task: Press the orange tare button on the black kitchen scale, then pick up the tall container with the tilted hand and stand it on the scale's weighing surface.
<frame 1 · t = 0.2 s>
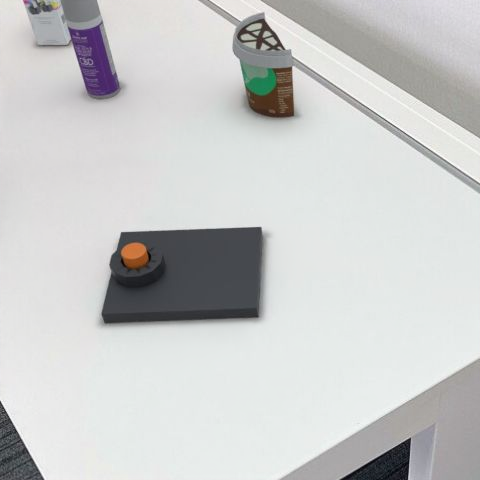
food container: (262, 104, 107), on the table
scale: (187, 277, 84), on the table
tare button: (135, 256, 81), point 3 cm above the table, slide at 0.1 cm
container: (104, 91, 110), on the table
ink box: (60, 34, 122), on the table
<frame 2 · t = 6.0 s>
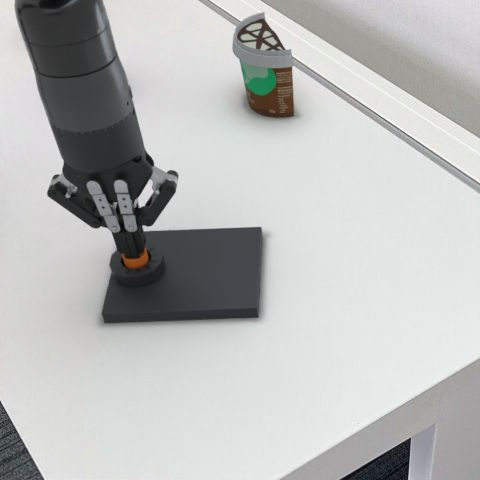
hand: (134, 252, 81), 4 cm above the table, tool pointing down, fingers closed
tare button: (135, 257, 81), point 3 cm above the table, slide at -0.1 cm, touching gripper
everything else where it was.
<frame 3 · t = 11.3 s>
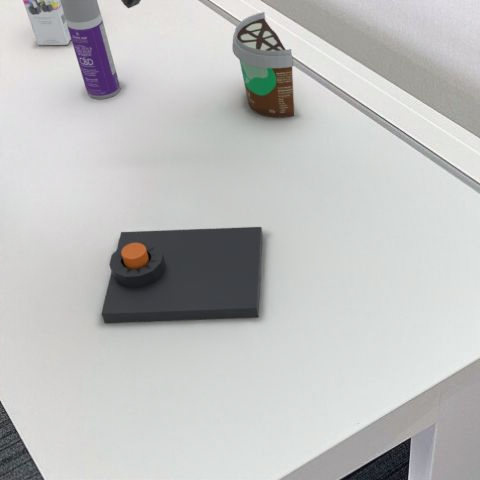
tare button: (135, 256, 81), point 3 cm above the table, slide at 0.1 cm
everything else where it was.
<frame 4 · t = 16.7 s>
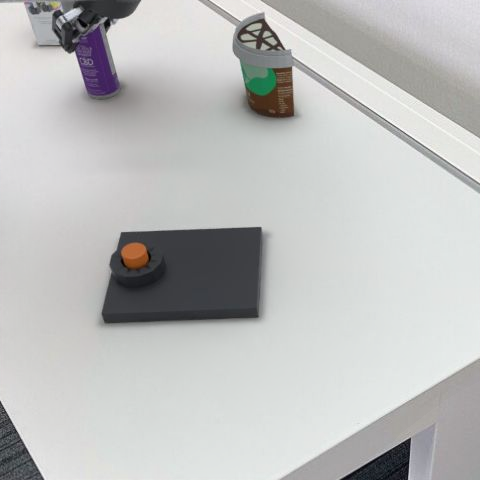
hand: (81, 39, 105), 7 cm above the table, tool tilted 45°, fingers closed on container, 4 cm apart
container: (104, 91, 110), on the table, touching gripper
everything else where it was.
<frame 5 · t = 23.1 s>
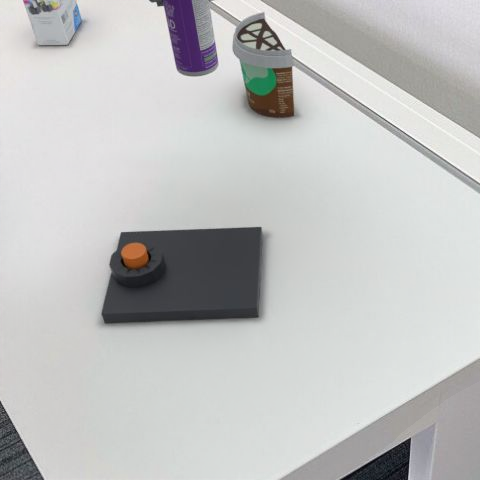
container: (197, 67, 85), point 15 cm above the table, touching gripper
everything else where it was.
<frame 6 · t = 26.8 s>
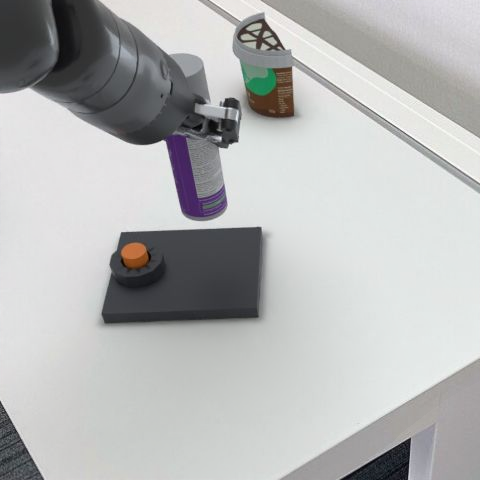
hand: (199, 134, 72), 17 cm above the table, tool tilted 45°, fingers closed on container, 4 cm apart
container: (204, 208, 77), point 9 cm above the table, touching gripper
everything else where it was.
when the fingers open (9 cm above the table, at t = 29.6 s): container stays where it is, resting on scale.
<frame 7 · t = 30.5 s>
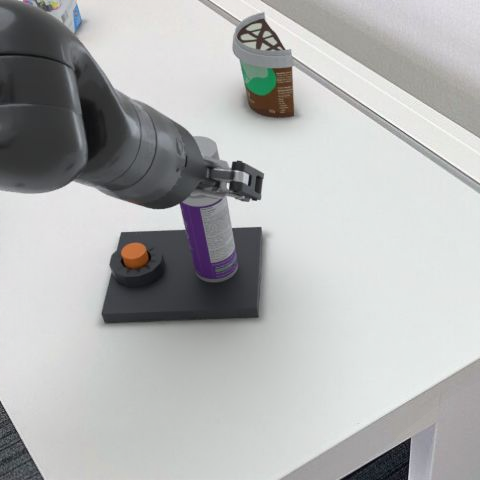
hand: (206, 186, 76), 11 cm above the table, tool tilted 45°, fingers open, 8 cm apart
container: (216, 269, 83), point 1 cm above the table, touching scale
everything else where it was.
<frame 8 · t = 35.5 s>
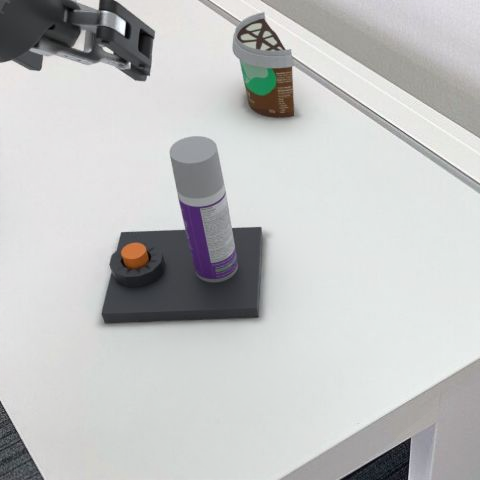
hand: (91, 62, 58), 29 cm above the table, tool tilted 45°, fingers open, 8 cm apart
nothing on the table moved.
at the end: tare button pushed in 0.9 cm at the most during the clip, back to where it started at the end; container inside the target area on the scale (0.2 cm from its centre), point 1.2 cm above the scale's base; container tilted 0° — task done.
